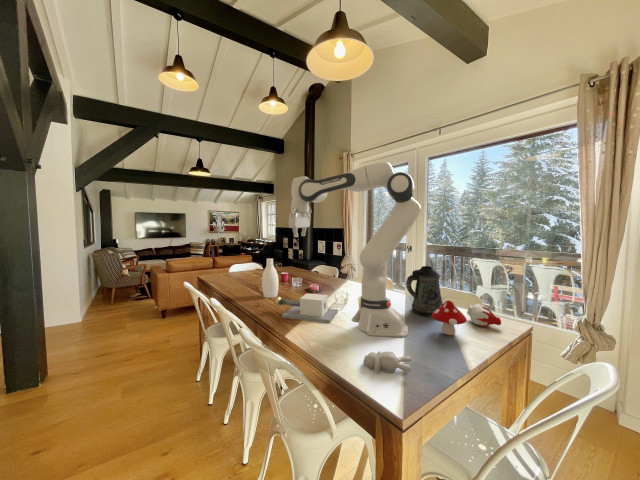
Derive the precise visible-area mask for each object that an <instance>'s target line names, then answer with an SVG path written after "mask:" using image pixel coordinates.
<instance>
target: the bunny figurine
mask: <svg viewBox="0 0 640 480" xmlns="http://www.w3.org/2000/svg"><path fill="white" fill-rule="evenodd" d="M411 360H412V359H411V357H410V356H408V355H405V356H401V357H397V356H396V354H395V353H394V352H393V351H383V352H382V351H381V350H379V351H377V352H374V351H371V352H369V353H368V354H367V355H366V354H365V356H364V357H363V366H365V367H367V369H369V370H373V371H374V372H377V373H378V372H379V371H383V372H384V373H390V374H391V373H394V372H395V371H396V370H397V369H399V370H401V371H403V372H410V371H411V365H410V364H407V363H406V362H412V361H411ZM402 362H403V363H402Z"/></svg>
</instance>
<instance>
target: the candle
mask: <svg viewBox="0 0 640 480" xmlns="http://www.w3.org/2000/svg"><path fill="white" fill-rule="evenodd" d="M466 314H467V315H468V316H469V318H470V321H471V323H473V324H475V325H477V326H478V327H483V328H485V327H488V326H491V325H497V326H500V325H502V321H501V318H500V317H499V316H496V315H495V314H494V313H493V312H492V311H491V310H490V309H488V307H487V306H485V305H482V304H480V303H475V304H473V305H472V304H469V305H468V306H467V312H466Z"/></svg>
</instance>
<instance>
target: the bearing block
mask: <svg viewBox="0 0 640 480" xmlns="http://www.w3.org/2000/svg"><path fill="white" fill-rule="evenodd" d="M299 301H300V307H299V306H291V307H290V308H288V310H286V311H284V312H283V313H282V314H281V318H282V319H292V320H301V321H310V322H317V323H326V324H331V322H332V321H333V320H334V318H335V316H336V315H337V314H338V312H339V310H338V308H337V309H336V308H328V294H318V293H307V292H306V293H305V294H304V295H303V296H301V297H300V298H299Z"/></svg>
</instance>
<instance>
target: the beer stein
mask: <svg viewBox="0 0 640 480" xmlns="http://www.w3.org/2000/svg"><path fill="white" fill-rule="evenodd" d="M440 279H441V275H440V273H439V272H437V271H436V270H434V269H433V267H432V266H430V265H429V266H428V265H423V266H421V268H419V269H415V270H412V274H411V275H409V276H407V278H406V282H405V286H406V287H405V288H406V289H407V291H408V293H409V294H410V295H411V296H412V297H413V300H412V304H411V309H412V311H413V313H414V314H416V315H418V316H420V317H421V316H422V317H426V318H433V317H432V313H433V312H434V311H435V310H437V309H438V308H439V307H440V306H441V305H442V304H443V303H444V302H443V298H442V295H441V288H440ZM413 281H416V284H415V290H414V289H413V288H412V283H413Z"/></svg>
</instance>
